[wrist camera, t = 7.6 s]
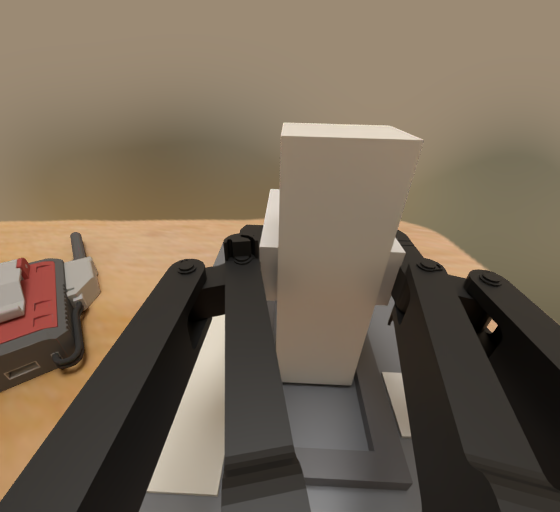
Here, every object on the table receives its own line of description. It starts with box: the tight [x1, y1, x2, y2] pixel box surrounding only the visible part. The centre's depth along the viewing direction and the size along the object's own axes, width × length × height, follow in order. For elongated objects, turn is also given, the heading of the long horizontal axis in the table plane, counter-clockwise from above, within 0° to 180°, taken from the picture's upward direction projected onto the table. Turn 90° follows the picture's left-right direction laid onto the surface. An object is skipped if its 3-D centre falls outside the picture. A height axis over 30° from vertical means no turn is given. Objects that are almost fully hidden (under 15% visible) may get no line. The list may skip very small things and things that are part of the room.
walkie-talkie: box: [0, 232, 100, 392], centre depth 23 cm, size 9×4×20 cm
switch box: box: [139, 244, 422, 512], centre depth 18 cm, size 16×22×4 cm
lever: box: [276, 123, 424, 385], centre depth 12 cm, size 4×3×12 cm
